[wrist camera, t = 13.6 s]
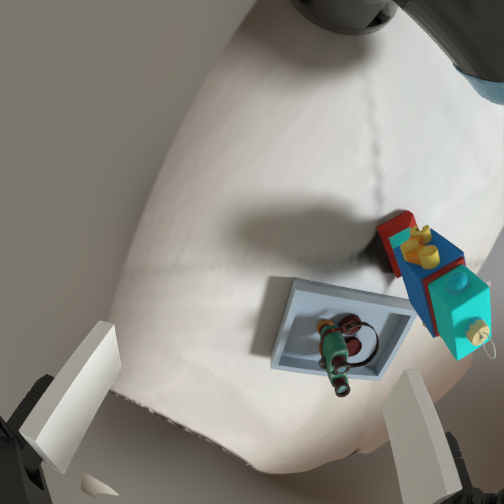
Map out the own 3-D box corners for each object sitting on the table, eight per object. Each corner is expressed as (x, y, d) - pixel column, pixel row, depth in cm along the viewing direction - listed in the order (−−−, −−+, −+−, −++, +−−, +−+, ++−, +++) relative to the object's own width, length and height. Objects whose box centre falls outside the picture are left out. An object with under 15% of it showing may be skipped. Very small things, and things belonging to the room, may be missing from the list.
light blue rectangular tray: (294, 277, 42) (295, 289, 39) (410, 299, 42) (418, 311, 39) (270, 354, 48) (270, 368, 45) (375, 367, 48) (380, 380, 45)
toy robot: (425, 265, 40) (517, 372, 17) (393, 283, 42) (468, 405, 18) (403, 199, 37) (525, 281, 14) (367, 218, 38) (466, 324, 15)
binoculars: (391, 387, 36) (326, 406, 36) (369, 345, 46) (313, 359, 46) (398, 342, 33) (324, 363, 33) (370, 301, 43) (308, 316, 43)
